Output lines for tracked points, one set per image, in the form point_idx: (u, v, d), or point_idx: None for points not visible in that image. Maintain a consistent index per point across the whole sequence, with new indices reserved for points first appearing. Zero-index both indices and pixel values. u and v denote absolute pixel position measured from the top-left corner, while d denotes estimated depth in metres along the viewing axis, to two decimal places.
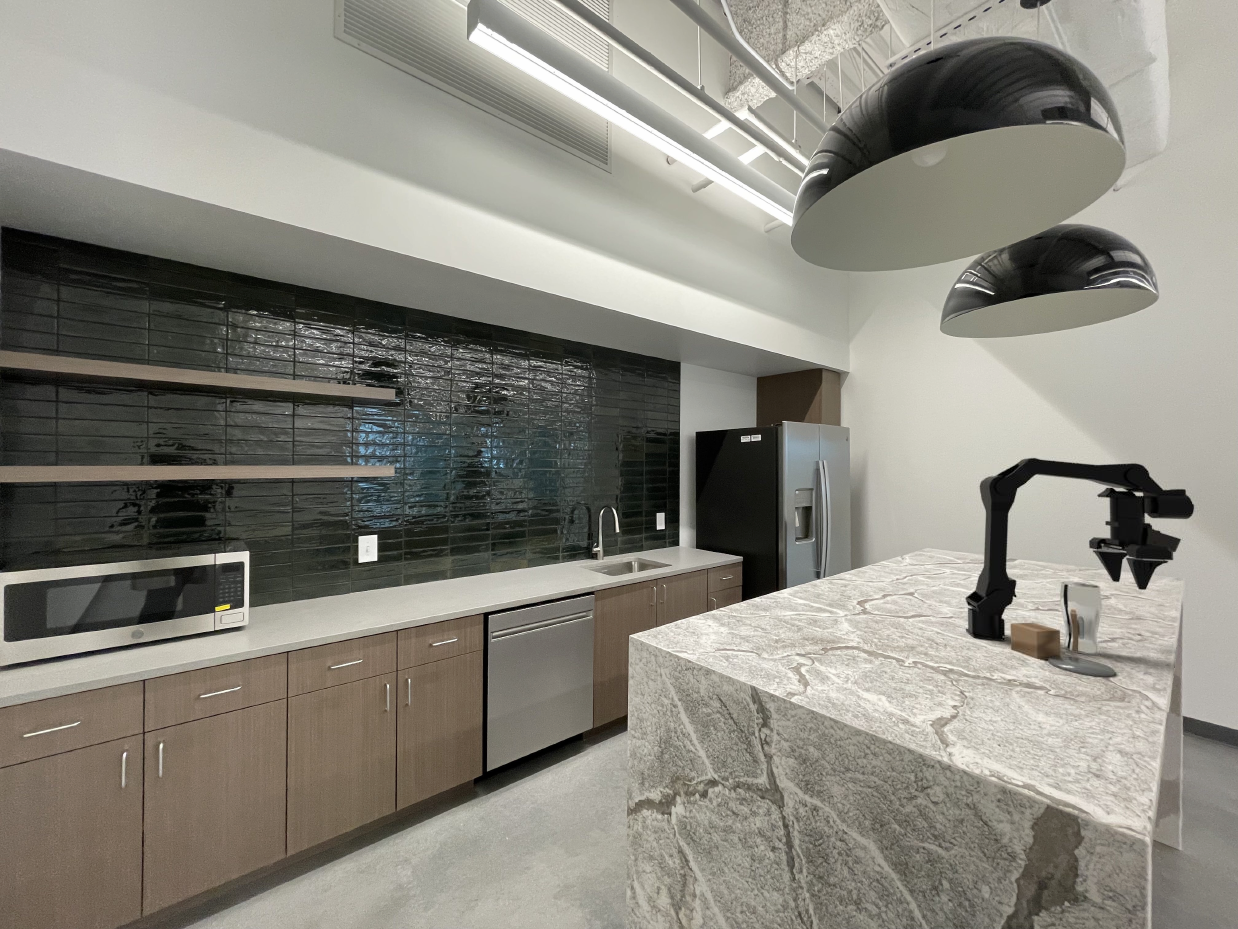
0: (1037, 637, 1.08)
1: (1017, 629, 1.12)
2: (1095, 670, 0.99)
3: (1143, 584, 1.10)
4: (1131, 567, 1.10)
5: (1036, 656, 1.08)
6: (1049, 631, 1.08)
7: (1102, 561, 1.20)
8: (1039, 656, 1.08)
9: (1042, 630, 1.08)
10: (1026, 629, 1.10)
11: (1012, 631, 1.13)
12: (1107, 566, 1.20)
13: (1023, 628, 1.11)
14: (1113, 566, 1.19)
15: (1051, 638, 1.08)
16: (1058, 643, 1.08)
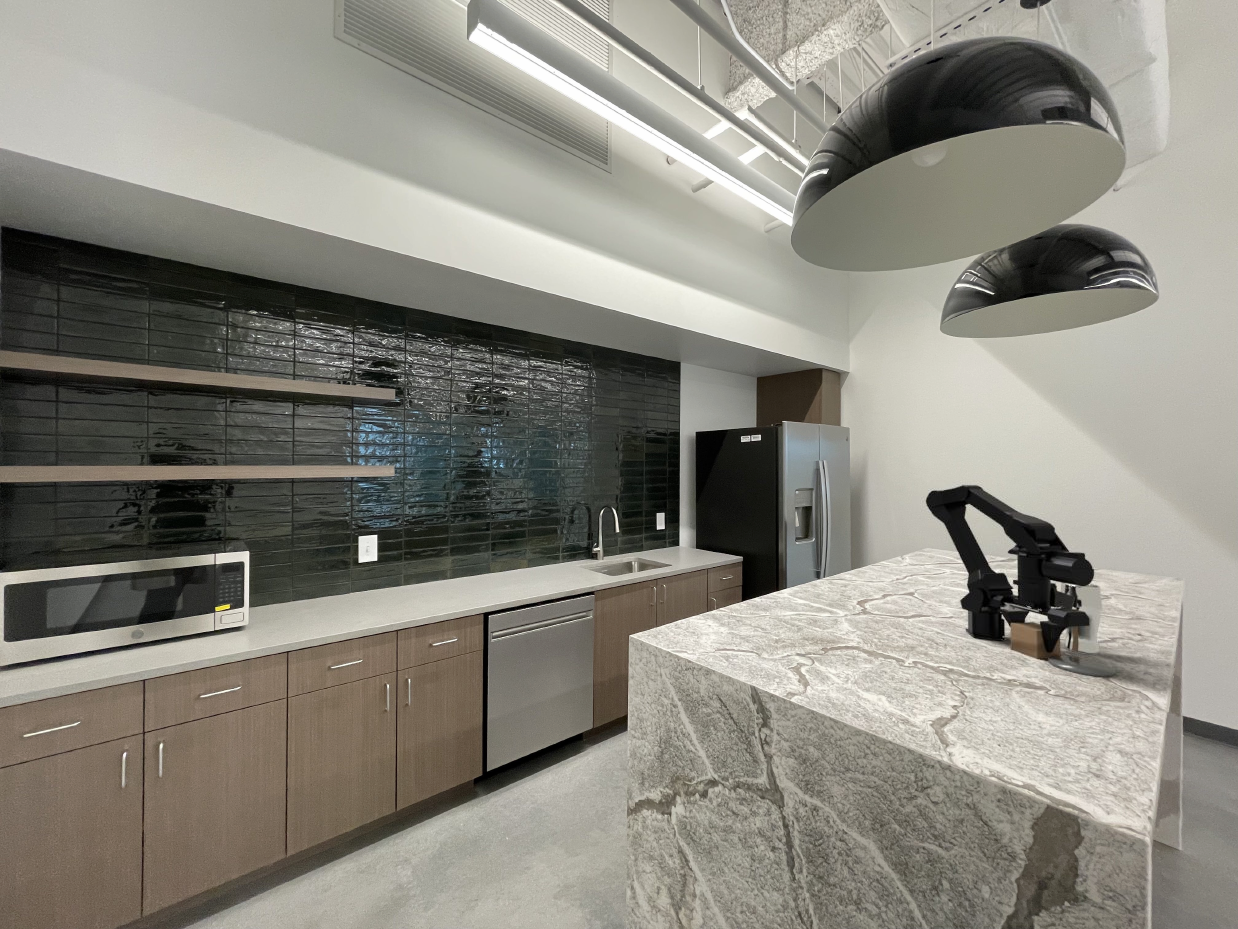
0: (1036, 636, 1.08)
1: (1017, 628, 1.12)
2: (1095, 670, 0.99)
3: (1051, 647, 1.08)
4: (1044, 631, 1.07)
5: (1036, 655, 1.08)
6: None
7: (1010, 622, 1.15)
8: (1039, 655, 1.08)
9: None
10: (1026, 628, 1.10)
11: (1012, 631, 1.13)
12: None
13: (1023, 627, 1.11)
14: None
15: None
16: (1058, 642, 1.08)
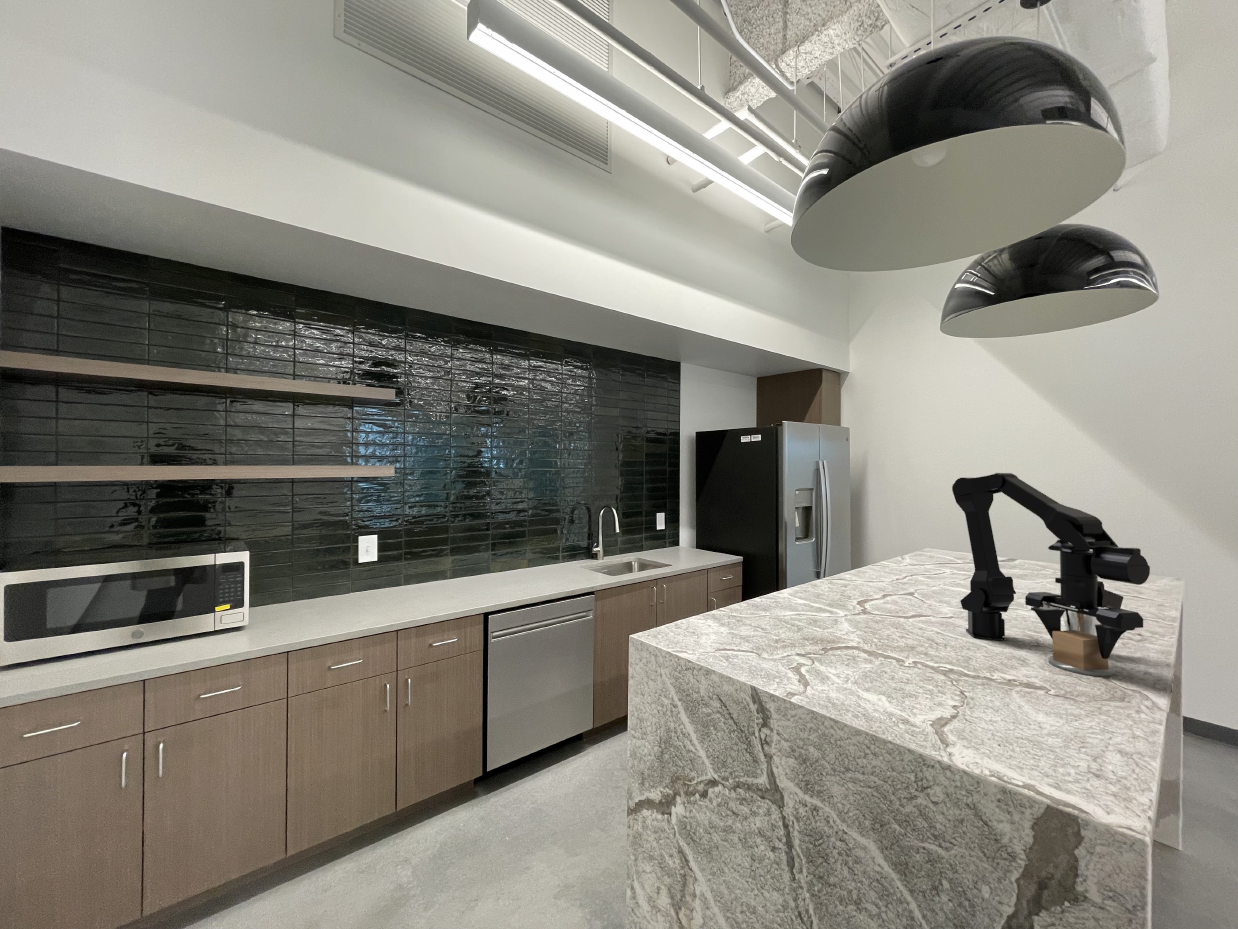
0: (1083, 646, 1.00)
1: (1060, 637, 1.04)
2: (1095, 670, 0.99)
3: (1107, 653, 0.98)
4: (1100, 635, 0.97)
5: (1082, 667, 0.99)
6: (1096, 640, 1.00)
7: (1045, 621, 1.08)
8: (1086, 667, 0.99)
9: (1089, 639, 1.00)
10: (1071, 637, 1.02)
11: (1054, 639, 1.05)
12: (1050, 627, 1.07)
13: (1067, 636, 1.02)
14: (1054, 626, 1.08)
15: (1098, 647, 1.00)
16: None
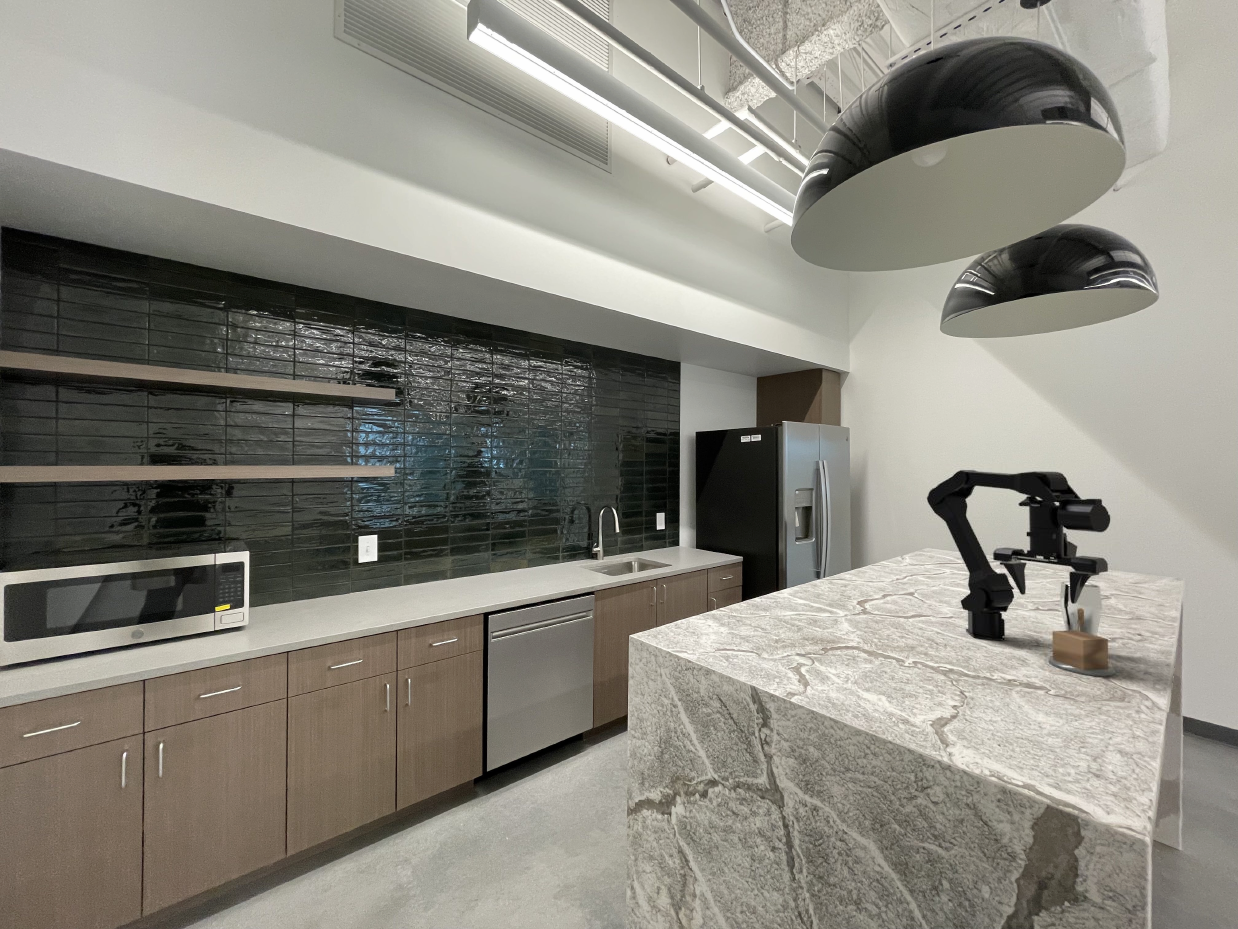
0: (1083, 646, 1.00)
1: (1060, 637, 1.04)
2: (1095, 670, 0.99)
3: (1075, 598, 1.05)
4: (1074, 582, 1.04)
5: (1082, 667, 0.99)
6: (1096, 640, 1.00)
7: (1014, 574, 1.14)
8: (1086, 667, 0.99)
9: (1089, 639, 1.00)
10: (1071, 638, 1.02)
11: (1054, 639, 1.05)
12: (1018, 579, 1.13)
13: (1067, 636, 1.02)
14: (1020, 578, 1.14)
15: (1098, 647, 1.00)
16: (1106, 653, 1.00)
